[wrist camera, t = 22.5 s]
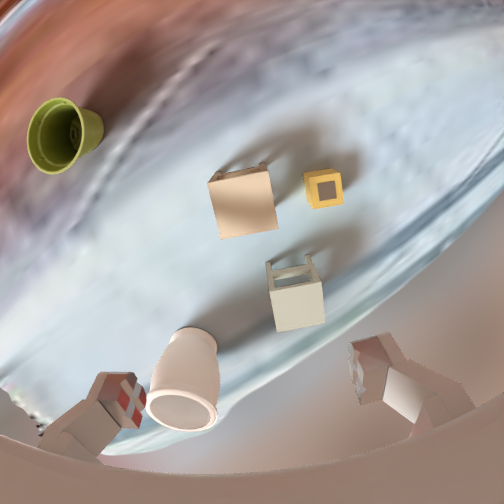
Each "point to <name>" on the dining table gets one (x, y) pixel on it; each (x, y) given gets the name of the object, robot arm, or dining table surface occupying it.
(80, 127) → the plant pot
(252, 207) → the tan square stool
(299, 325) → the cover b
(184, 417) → the jar
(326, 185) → the letter block
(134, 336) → the dining table surface
